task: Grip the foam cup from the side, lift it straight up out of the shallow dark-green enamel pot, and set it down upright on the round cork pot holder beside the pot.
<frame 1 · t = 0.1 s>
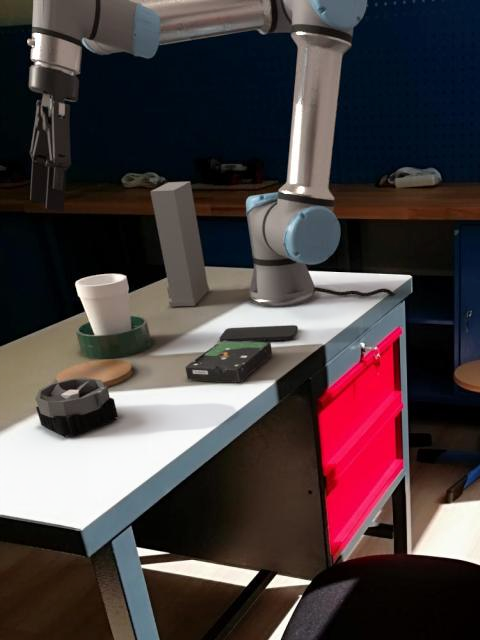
hand: (46, 206, 132), 28 cm above the workbench, tool tilted 20°, fingers open, 13 cm apart
foam cup: (116, 346, 152), resting on pot
phone: (259, 336, 153), on the workbench
pot holder: (95, 376, 137), on the workbench
pot: (116, 347, 152), on the workbench
cpu cooler: (80, 423, 120), on the workbench
tall grey upright pillar: (190, 299, 181), on the workbench
disk drive: (231, 368, 138), on the workbench
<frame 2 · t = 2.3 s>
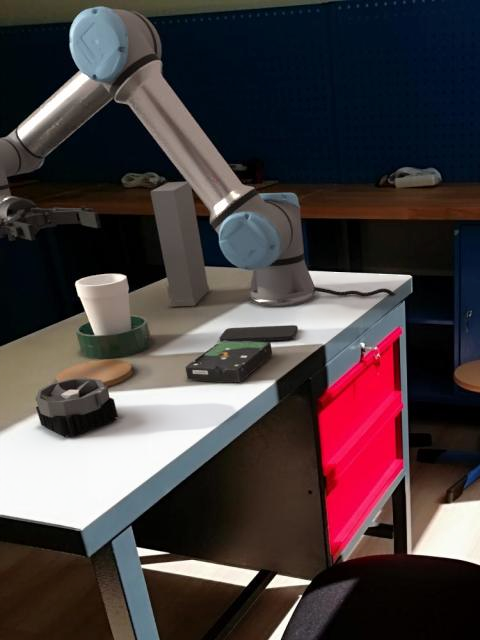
hand: (65, 226, 146), 22 cm above the workbench, tool horizontal, fingers open, 13 cm apart
nothing on the workbench moved.
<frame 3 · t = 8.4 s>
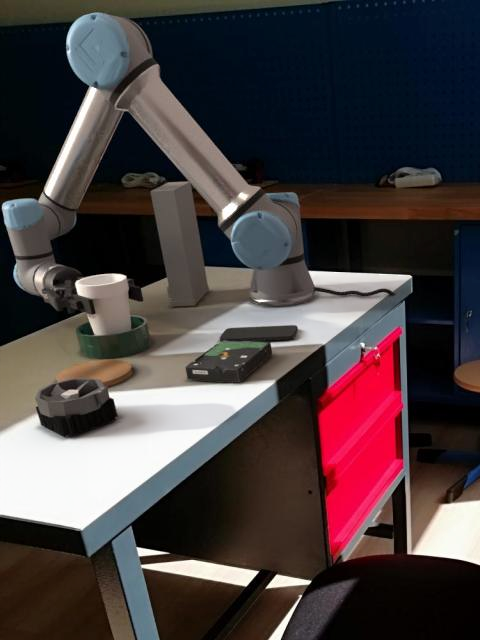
hand: (116, 300, 144), 10 cm above the workbench, tool horizontal, fingers closed on foam cup, 9 cm apart
foam cup: (116, 346, 152), resting on pot, touching gripper
everything else where it was.
when the fingers open (11 cm above the workbench, at t = 16.8 s): foam cup stays where it is, resting on pot holder.
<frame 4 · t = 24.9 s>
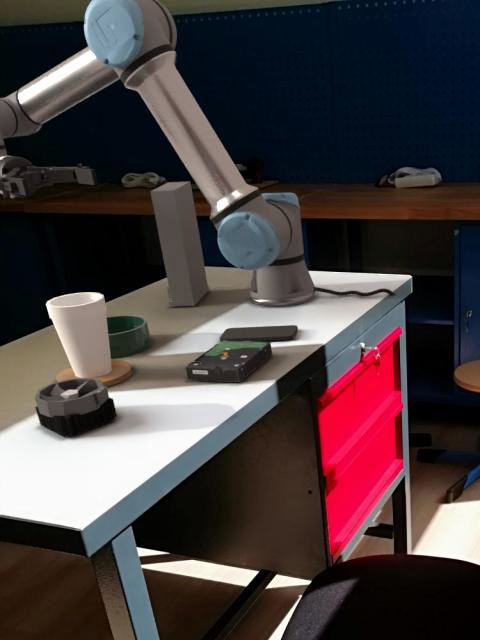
hand: (61, 182, 142), 30 cm above the workbench, tool horizontal, fingers open, 13 cm apart
foam cup: (93, 372, 137), point 1 cm above the workbench, touching pot holder
everything else where it was.
at the end: foam cup inside the target area on the pot holder (0.1 cm from its centre), point 0.8 cm above the pot holder's base; foam cup tilted 0°; the gripper is holding nothing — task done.
